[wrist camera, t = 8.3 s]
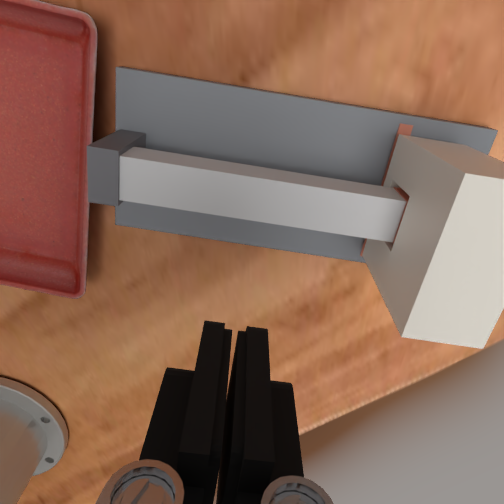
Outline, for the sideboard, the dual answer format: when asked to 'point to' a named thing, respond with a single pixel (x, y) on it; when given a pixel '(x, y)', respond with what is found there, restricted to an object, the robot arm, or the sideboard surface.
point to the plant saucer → (45, 145)
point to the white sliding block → (443, 243)
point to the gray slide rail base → (256, 164)
